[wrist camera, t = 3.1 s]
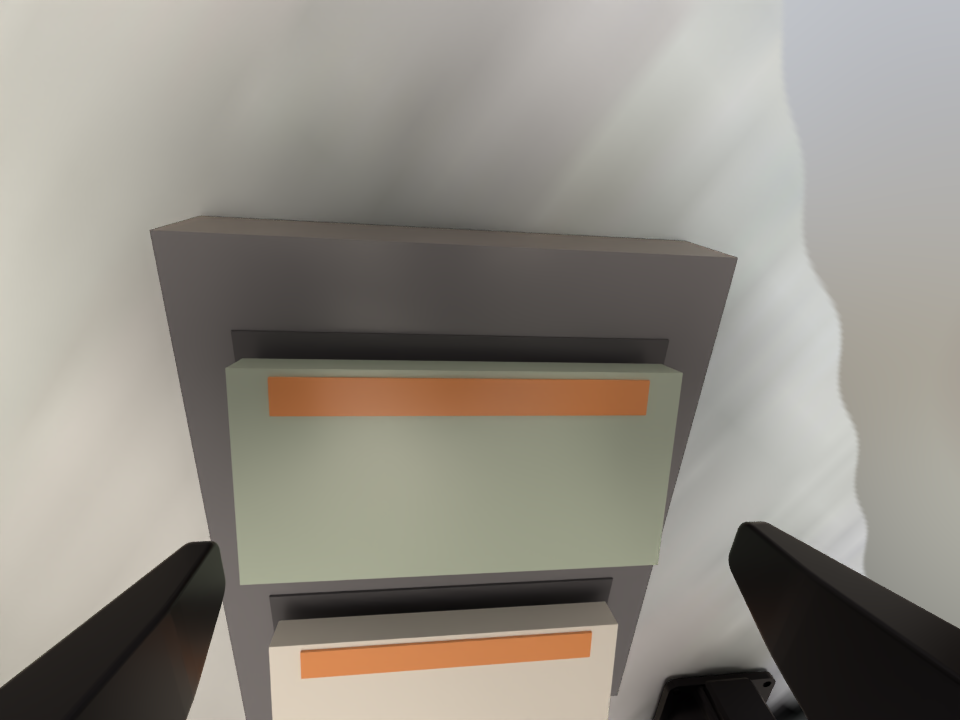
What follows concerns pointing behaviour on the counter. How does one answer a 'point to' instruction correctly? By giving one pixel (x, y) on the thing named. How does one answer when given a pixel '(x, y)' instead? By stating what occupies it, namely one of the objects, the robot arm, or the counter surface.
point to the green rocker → (446, 466)
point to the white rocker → (447, 665)
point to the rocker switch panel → (420, 337)
